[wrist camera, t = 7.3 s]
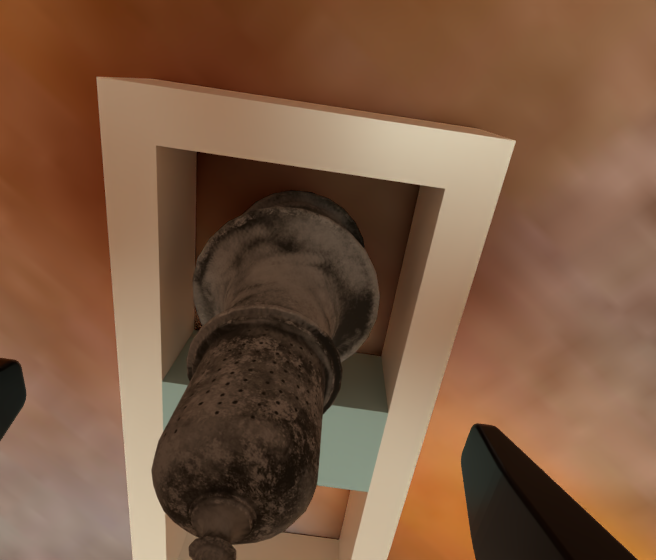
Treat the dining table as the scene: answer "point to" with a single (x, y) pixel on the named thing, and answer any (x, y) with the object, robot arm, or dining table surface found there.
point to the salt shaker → (263, 369)
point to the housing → (358, 370)
